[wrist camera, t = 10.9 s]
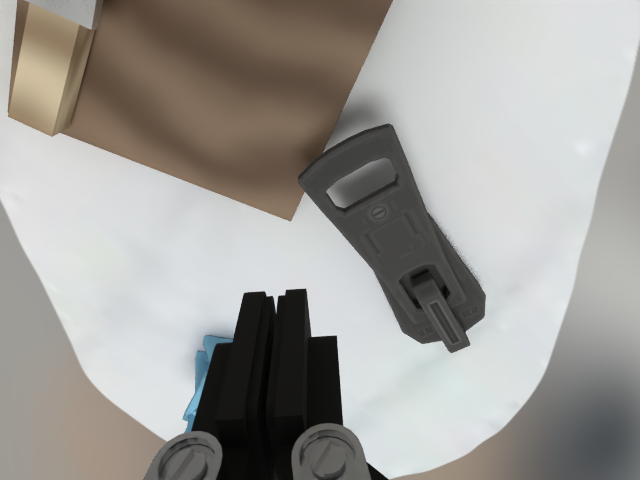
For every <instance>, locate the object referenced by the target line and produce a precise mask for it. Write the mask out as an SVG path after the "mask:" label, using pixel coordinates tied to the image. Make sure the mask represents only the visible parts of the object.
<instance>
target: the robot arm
mask: <svg viewBox="0 0 640 480" xmlns="http://www.w3.org/2000/svg"><path fill="white" fill-rule="evenodd" d="M143 480H389V479H387V478H386V477H385V476H384V475H382V474H381V473H380V472H379V471H377V470H376V469H375V468H374V467H372V466H371V465H370V464H369V463H367V462H366V459H365V455H364V452H363V448H362V446H361V443H360V441H359V439H358V438H357V436H356V435H355V434H354V433H353V432H352V431H351V430H349V429H347V428H345V427H344V426H343V417H342V404H341V390H340V376H339V362H338V348H337V336H322V337H311V328H310V319H309V309H308V300H307V291H306V289H294V290H286V293H285V295H283V296H278V303H277V312H276V310H275V304H274V298H273V296H268V297H266V293H265V291H263V292H248V293H244V295H243V299H242V303H241V308H240V312H239V316H238V321H237V325H236V329H235V334H234V338H233V342H228V343H217V344H216V345H215V348H214V350H213V354H212V358H211V361H210V365H209V368H208V372H207V375H206V379H205V383H204V386H203V390H202V393H201V397H200V400H199V404H198V408H197V411H196V415H195V418H194V422H193V425H192V429H191V432H187V433H184V434H181V435H178V436H176V437H175V438H173V439H171V440H170V441H168V442H167V443H166V444H165V445H164V446H163V447H162V448H161V449H160V450H159V452H158V453H157V454H156V456H155V458H154V459H153V461H152V463H151V465H150V467H149V469H148V471H147V473H146V475H145V477H144V479H143Z"/></svg>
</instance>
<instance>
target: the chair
mask: <svg viewBox="0 0 640 480" xmlns="http://www.w3.org/2000/svg"><path fill="white" fill-rule="evenodd" d="M228 342H233V339H227V338H220V337H214V336H205V337H204V342H203V346H204V348H205V351H206V353H205V352H203V351H198V352H197V353H196V359H195V363H196V376H195V394H194V396H193V398H192V400H191V402H190V403H189V405H188V407H187V409H186V411H185V413H184V416H183V419H182V420H185V421H188V426H187V428H186V431H185V432H184V433H187V432H191V429H192V425H193V422H194V418H195V415H196V411H197V408H198V404H199V400H200V397H201V393H202V390H203V386H204V383H205V379H206V375H207V372H208V368H209V365H210V361H211V358H212V354H213V350H214V348H215V345H216V344H217V343H228Z"/></svg>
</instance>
